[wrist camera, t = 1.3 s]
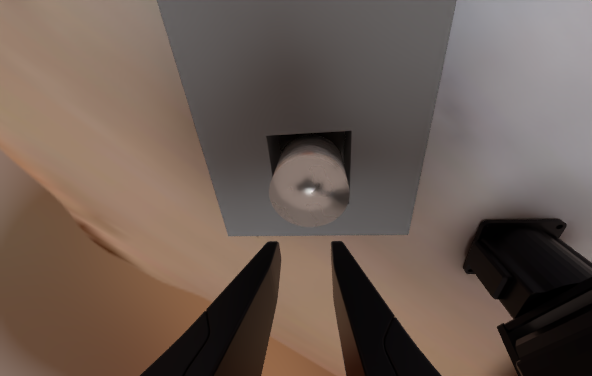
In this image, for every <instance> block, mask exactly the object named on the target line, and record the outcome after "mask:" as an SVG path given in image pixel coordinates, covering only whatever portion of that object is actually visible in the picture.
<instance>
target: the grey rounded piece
mask: <svg viewBox="0 0 592 376" xmlns="http://www.w3.org/2000/svg"><path fill="white" fill-rule="evenodd" d="M269 197H270V201H271V204H272V206H273V208H274V209H275V211H276V212H277V213H278V214H279V215H280V216H281V217H282V218H283V219H285V220H286V221H288V222H290V223H292V224H295V225H298V226H303V227H318V226H322V225H326V224H328V223H330V222H332V221H334V220H335V219H337V218H338V217H339V216H340V215H341V214H342V213H343V212H344V210H345V209H346V207H347V205H348V202H349V197H350V190H349V185H348V181H347V177H346V172H345V168H344V164H343V160H342V156H341V153H340V151H339V149H338V148H337V147H336V146H335V144H334V143H332V142H331V141H330V140H328V139H326V138H324V137H321V136H318V135H304V136H301V137H298V138H296V139H294V140H292V141H291V142H290V143H289V144H288V145H287V146H286V147H285V148H284V150H283V152H282V154H281V157H280V159H279V162H278V164H277V167H276V170H275V172H274V175H273V177H272V180H271V183H270V187H269Z"/></svg>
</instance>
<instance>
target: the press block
mask: <svg viewBox="0 0 592 376" xmlns="http://www.w3.org/2000/svg"><path fill="white" fill-rule="evenodd" d="M456 1H457V0H157V3H158V6H159V9H160V12H161V16H162V19H163V22H164V26H165V29H166V32H167V35H168V39H169V42H170V45H171V49H172V52H173V55H174V59H175V62H176V65H177V68H178V72H179V75H180V78H181V82H182V85H183V88H184V91H185V95H186V98H187V101H188V105H189V108H190V111H191V115H192V118H193V121H194V124H195V128H196V131H197V134H198V138H199V141H200V144H201V147H202V151H203V154H204V157H205V161H206V164H207V167H208V171H209V174H210V177H211V180H212V184H213V187H214V190H215V194H216V197H217V200H218V203H219V207H220V210H221V213H222V217H223V220H224V223H225V227H226V230H227V233H228V236H312V235H408V234H409V229H410V224H411V219H412V214H413V209H414V204H415V200H416V195H417V190H418V185H419V180H420V175H421V171H422V166H423V161H424V156H425V151H426V146H427V141H428V137H429V132H430V127H431V122H432V117H433V112H434V108H435V103H436V98H437V93H438V88H439V83H440V78H441V74H442V69H443V64H444V59H445V54H446V49H447V45H448V40H449V35H450V30H451V25H452V20H453V15H454V11H455V6H456ZM336 131H345V138H344V168H345V172H346V177H347V181H348V185H349V190H350V197H349V202H348V205H347V207H346V209H345V210H344V212H343V213H342V214H341V215H340V216H339V217H338V218H337V219H335V220H334V221H332V222H330V223H328V224H326V225H322V226H318V227H303V226H298V225H295V224H292V223H290V222H288V221H286V220H285V219H283V218H282V217H281V216H280V215H279V214H278V213H277V212H276V211H275V209H274V208H273V206H272V204H271V201H270V197H269V187H270V183H271V180H272V177H273V175H274V172H275V170H276V167H277V164H278V162H279V159H280V157H281V153H280V145H279V137H278V135H287V134H303V133H320V132H336Z"/></svg>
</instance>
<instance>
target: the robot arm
mask: <svg viewBox="0 0 592 376" xmlns="http://www.w3.org/2000/svg"><path fill="white" fill-rule="evenodd" d="M566 226H567V224H566V223H565V222H563V221H562V220H560V219H542V220H486V221H484V222H482V223H481V224H480V226H479V229H478V231H477V234H476V236H475V239H474V241H473V244H472V246H471V249H470V252H469V254H468V257H467V259H466V262H465V264H464V267H463V269H464V271H465V272H466V273H467V274H476V276H477V277H478V278H479V280H480V281H481V282H482V284H483V285H484V287H485V288H486V289H487V291H488V292H489V293H490V295H491V296H492V297H493V298H494V299H499V300H500V302H501V303H502V304H503V306H504V307H505V308H506V310H507V311H508V312H509V314H510V315H511V316H512V318H513V320H511V321H509V322H507V323H506V324H504V323H502V324H501V325H499V326H497V329H498V331H499V333H500V336H501V338H502V340H503V343H504V345H505V347H506V349H507V352H508V354H509V356H510V358H511V361H512V363H513V365H514V367H515V370H516V372H517V374H518V376H592V263H591V262H590V261H588V260H587V259H586V258H584V257H583V256H582V255H580V254H579V253H578V252H576V251H575V250H574V249H572V248H571V247H570V246H568V245H567V244H566V243H564V242H563V241H562V240H560V239H559V237H560V236H561V234H562V232H563V231H564V229H565V228H566ZM331 262H332V281H333V298H334V306H335V312H336V318H337V324H338V330H339V336H340V341H341V347H342V353H343V359H344V365H345V371H346V376H441V375H440V373H439V372H438V371H437V370H436V369H435V368H434V366H433V365H432V364H431V363H430V361H429V360H428V359H427V358H426V357H425V355H424V354H423V353H422V352H421V351H420V349H419V348H418V347H417V346H416V344H415V343H414V342H413V340H412V339H411V338H410V336H409V335H408V334H407V332H406V331H405V330H404V328H403V327H402V325H401V324H400V322H399V321H398V320H397V318H396V317H394V314H393V313H392V311H391V310H390V308H389V307H388V306H387V304H386V303H385V301H384V300H383V299H382V297H381V296H380V294H379V293H378V291H377V290H376V289H375V287H374V286H373V284H372V283H371V282H370V280H369V279H368V277H367V276H366V274H365V273H364V272H363V270H362V269H361V267H360V266H359V265H358V263H357V262H356V260H355V259H354V257H353V256H352V255H351V253H350V252H349V250H348V249H347V248H346V246H345V245H344V243H343V242H342V241H332V242H331ZM280 268H281V253H280V247H279V243H278V242H277V241H270V242H267V243H266V244H265V245H264V246H263V248H262V249H261V250H260V251H259V252H258V253H257V254H256V255H255V256H254V258H253V259H252V260H251V261H250V262H249V263H248V264H247V265H246V266H245V267H244V269H243V270H242V271H241V272H240V273H239V274H238V275H237V276H236V277H235V278H234V280H233V281H232V282H231V283H230V284H229V285H228V286H227V287H226V288H225V289H224V291H223V292H222V293H221V294H220V295H219V296H218V297H217V298H216V299H215V300H214V302H213V303H212V304H211V305H210V306H209V307H208V308H207V310H206V311H204V312H203V314H202V315H201V316H200V317H199V318H198V319H197V320H196V321H195V322H194V323H193V324H192V325H191V326H190V328H189V329H188V330H187V331H186V332H185V333H184V334H183V335H182V336H181V337H180V338H179V339H178V340H177V341H176V342H175V343H174V344H173V345H172V346H171V347H170V348H169V349H168V350H166V351H165V352H164V353H163V354H162V355H161V356H160V357H159V358H158V359H157V360H156V361H155V362H154V363H153V364H152V365H151V366H150V367H148V368H147V369H146V371H144V372H143V373H142V374H141V375H140V376H261V374H262V369H263V364H264V360H265V355H266V350H267V346H268V341H269V337H270V332H271V327H272V323H273V318H274V313H275V309H276V304H277V297H278V289H279V278H280Z"/></svg>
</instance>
